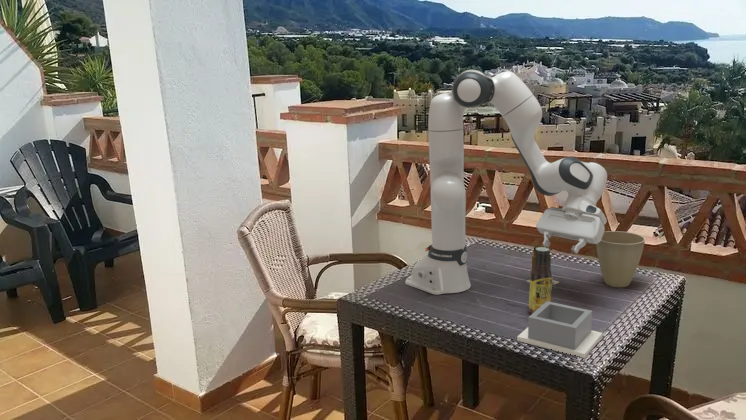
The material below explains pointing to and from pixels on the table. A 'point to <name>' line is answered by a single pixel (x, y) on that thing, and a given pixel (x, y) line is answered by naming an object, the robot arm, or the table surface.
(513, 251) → the table surface
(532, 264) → the condiment
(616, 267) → the plant pot
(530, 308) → the sauce bottle
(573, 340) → the box
